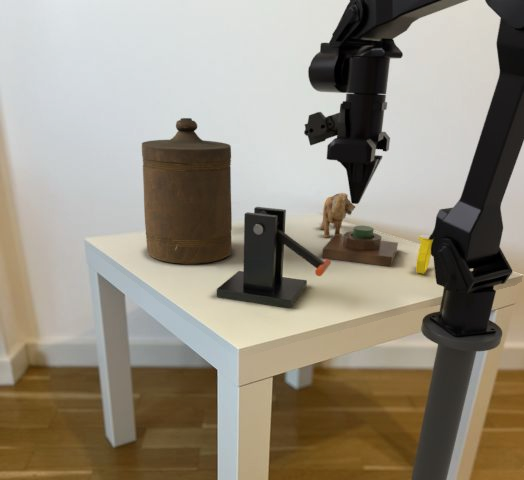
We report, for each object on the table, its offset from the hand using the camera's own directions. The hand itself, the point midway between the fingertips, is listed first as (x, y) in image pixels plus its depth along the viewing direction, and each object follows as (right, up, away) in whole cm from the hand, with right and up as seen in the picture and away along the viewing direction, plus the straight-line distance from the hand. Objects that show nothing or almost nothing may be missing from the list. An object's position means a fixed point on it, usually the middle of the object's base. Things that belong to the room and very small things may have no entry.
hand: (355, 203), depth 86 cm
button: (+3, -3, +12) cm, 13 cm away
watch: (+12, -10, +6) cm, 17 cm away
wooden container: (-28, -6, +11) cm, 30 cm away
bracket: (-15, -15, -6) cm, 21 cm away
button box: (+3, -6, +13) cm, 15 cm away
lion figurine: (0, +1, +27) cm, 27 cm away
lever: (-11, -9, -10) cm, 17 cm away
